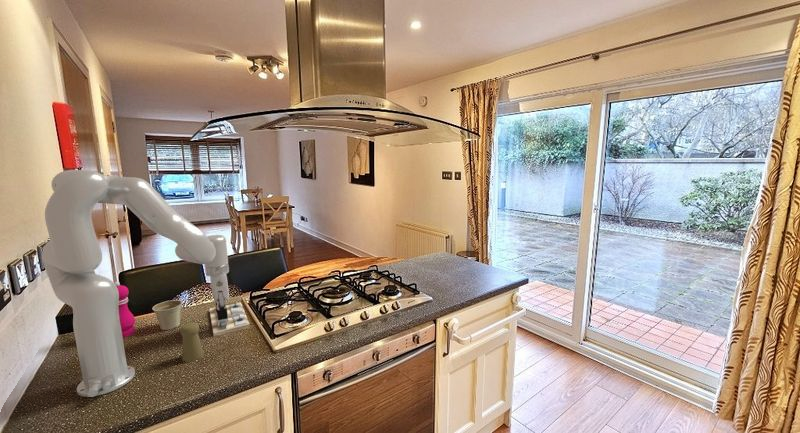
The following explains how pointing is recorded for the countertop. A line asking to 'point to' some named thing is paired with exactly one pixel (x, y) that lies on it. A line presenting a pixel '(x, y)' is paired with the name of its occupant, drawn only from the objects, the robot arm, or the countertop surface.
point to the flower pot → (168, 314)
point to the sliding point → (227, 318)
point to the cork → (191, 342)
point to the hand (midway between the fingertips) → (222, 315)
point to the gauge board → (229, 319)
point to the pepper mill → (125, 312)
